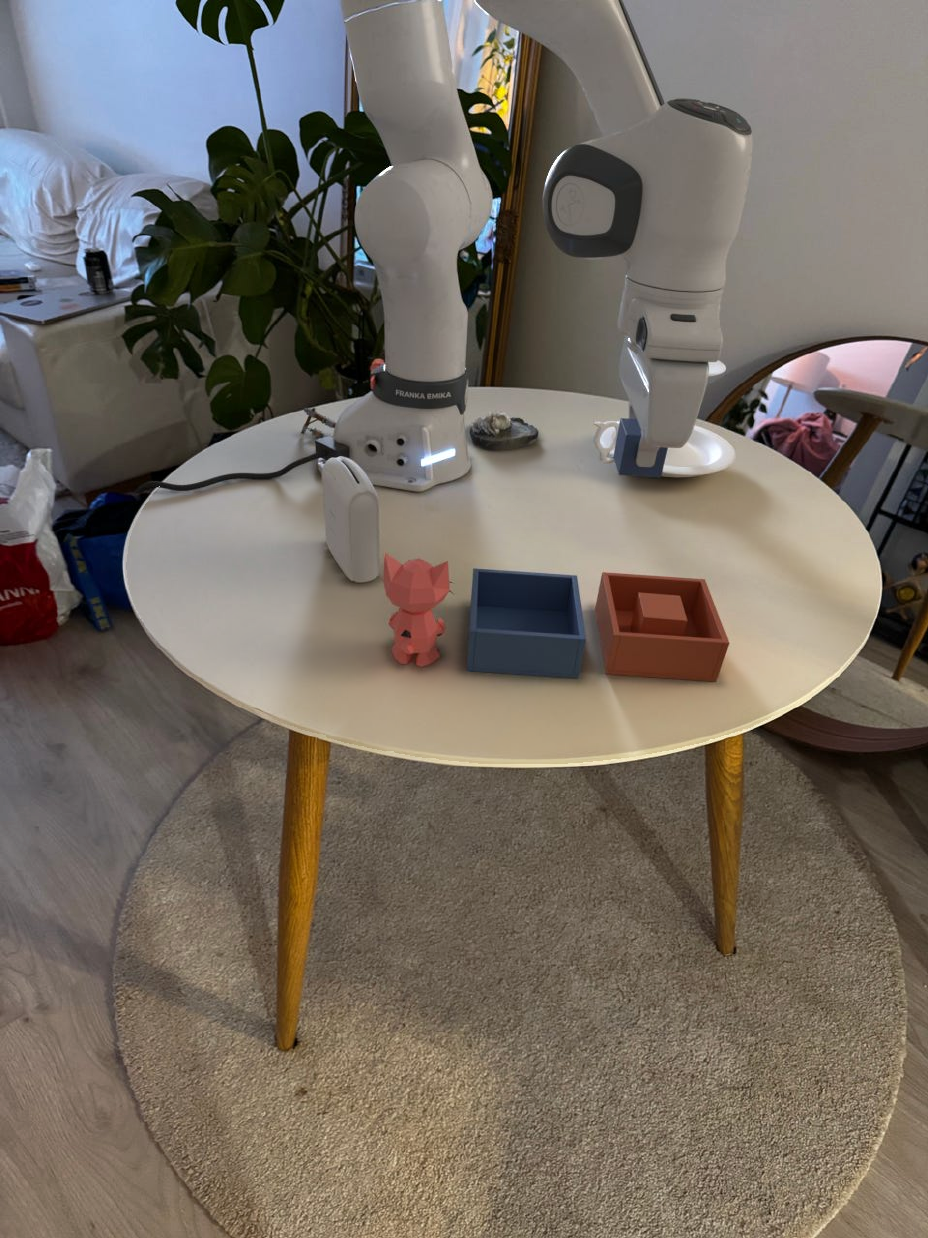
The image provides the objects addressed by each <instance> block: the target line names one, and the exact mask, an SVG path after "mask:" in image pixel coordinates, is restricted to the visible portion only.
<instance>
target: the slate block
mask: <svg viewBox="0 0 928 1238" xmlns="http://www.w3.org/2000/svg"><path fill="white" fill-rule="evenodd" d="M619 421H620V423H619V429H618V434H617V439H616V445H615V450H614V456H613V455H612V457H613V458H614V461H615V463H614V464H615V468H616V471H617V474H618V476H626V477H627V476H628V477H629V476H630V477H643V478H662V477H663V476H662V472H663V467H664V463H665V458H666V454H667V450H668V448H665V447H660V448H659V450H658V451H657V455H656V459H655V463H654V465H653V466H652V467H639V466H638V465H637V463H636V460H635V453H636V447H637V444H639V442H640V439H641V435H642V434H641V428H640V426H639V423H638V421H637V419H629V418H624V417H620V419H619Z"/></svg>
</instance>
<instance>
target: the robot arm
mask: <svg viewBox="0 0 928 1238" xmlns="http://www.w3.org/2000/svg"><path fill="white" fill-rule="evenodd" d="M474 2H475V4H476V5H477V6H478V7H479V9H481V11H483V12H484V13H485V14H486V15H488V16H489V17H491V18H492V19H494V20H495V21H497V22H499V23H501V24H503V25H504V26H507V27H509V28H511V29H513V30H515V31H518V32H520V33H521V34H523V35H525V36H527V37H529V38H531V39H532V40H534V41H537V43H539V44H541V45H542V46H543V47H545V48H547V49H548V50H549V51H551V52H552V53H553V54H555V55H556V56H557V57H558V58H559V59H561V60H562V61H563V63H565V65H566V66H567V68H569V70H570V71H571V72H572V73H573V75H574V77H575V78H576V79H577V81H578V83H579V85H580V87H581V90H582V92H583V94H584V97H585V98H586V101H587V104H588V106H589V108H590V111H591V113H592V115H593V117H594V120H595V122H596V124H597V127H598V129H599V131H600V133H601V136H602V137H598V138H595V139H591V140H587V141H584V142H581V143H578V144H575V145H572V146H570V147H568V148H566V149H565V150H564V151H563V152H561V153H560V155H559V156H557V158H556V159H555V161H554V162H553V164H552V166H551V168H550V170H549V172H548V175H547V177H546V180H545V183H544V188H543V193H542V214H543V221H544V224H545V227H546V230H547V233H548V235H549V238H550V239H551V240H552V242H553V243H554V245H555V246H556V247H557V248H558V249H559V250H560V251H561V252H562V253H564V254H566V256H570V257H572V258H579V259H583V260H599V259H606V258H611V257H613V258H619V259H621V260H623V261H624V262H625V264H626V273H625V278H624V283H623V289H622V296H621V301H620V307H619V312H618V313H619V314H618V319H617V324H616V326H617V329H618V331H619V332H621V333H622V334H623V335H624V340H623V345H622V350H621V354H620V358H619V359H620V360H619V367H618V375H619V378H620V381H621V383H622V386H623V388H624V391H625V393H626V396H627V398H628V419H637V421H638V423H639V426H640V428H641V434H642V435H641V439H640V442H639V444H637V447H636V453H635V460H636V463H637V465H638V466H639V467H652V466H653V465H654V463H655V459H656V455H657V451H658V450H659V448H660V447H665V448H681V447H683V446H684V445H685V444H686V443H687V441H688V440H689V438H690V436H691V434H692V431H693V428H694V425H695V426H696V422H697V418H698V417H699V412H700V409H701V407H702V403H703V401H704V396H705V392H706V389H707V387H708V381H709V377H710V376H709V363H708V362H717V361H718V360H720V357H721V353H722V350H723V344H724V336H723V332H722V328H721V322H720V315H721V314H720V313H721V307H722V306H721V303H722V298H723V295H724V290H725V287H726V286H725V285H726V282H727V281H726V280H727V272H726V271H727V270H726V268H727V266H726V265H727V258H728V255H729V252H730V249H731V247H732V246H733V245H732V244H733V243H734V241H735V239H736V237H737V235H738V233H739V229H740V224H741V221H742V216H743V211H744V208H745V203H746V198H747V192H748V188H749V182H750V177H751V170H752V169H751V168H752V161H753V154H754V153H753V152H754V150H753V149H754V138H753V131H752V127H751V125H750V124H749V122H748V121H747V119H746V118H744V117H743V116H742V115H741V114H740V113H739V112H737V111H735V110H732V109H730V108H728V107H725V106H722V105H719V104H716V103H713V102H709V101H708V102H707V101H702V100H701V99H693V98H683V97H682V98H675V99H670V100H668V101H666V102H665V100H664V98H663V95H662V93H661V90H660V87H659V86H658V82H657V80H656V78H655V75H654V73H653V70H652V68H651V65H650V64H649V61H648V58H647V56H646V54H645V51H644V49H643V46H642V44H641V41H640V39H639V37H638V34H637V32H636V29H635V27H634V24H633V21H632V19H631V17H630V15H629V12H628V10H627V8H626V6H625V4H624V1H623V0H474ZM339 3H340V9H341V14H342V20H343V24H344V25H343V26H344V29H345V35H346V40H347V44H348V48H349V53H350V58H351V63H352V68H353V73H354V78H355V82H356V83H355V84H356V87H357V93H358V98H359V101H360V105H361V108H362V110H363V112H364V115H366V117H367V118H368V119H369V121H370V122H371V123H372V125H373V126H374V128H375V129H376V131H377V133H378V135H379V137H380V139H381V142H382V144H383V147H384V149H385V151H386V154H387V156H388V159H389V163H390V165H391V166H389V167H387V168H386V169H383V170H382V171H381V172H379V174H378V175H376V176H375V177H374V178H373V179H372V180H371V181H370V182H369V183H368V184H367V185H366V186H364V188H363V189H362V190H361V192H360V194H359V196H358V198H357V200H356V205H355V209H354V228H355V232H356V236H357V239H358V241H359V244H360V246H361V248H362V249H363V250H364V252H365V253H366V254H367V256H368V257H369V258H370V259H371V261H372V263H373V267H374V271H375V274H376V278H377V282H378V286H379V291H380V295H381V301H382V302H381V303H382V307H383V320H384V321H383V324H384V325H383V326H384V327H383V328H384V359H382V358H376V359H374V360H373V361H372V363H371V365H370V375H369V376H370V377H369V378H370V379H369V380H370V381H369V384H370V391H369V392H368V393H366V394H365V395H363V396H362V397H360V398H358V399H357V400H356V401H355V402H353V403H352V404H350V405H349V406H347V407H346V408H344V410H343V411H342V412H341V413H340V415H339V416H338V417H337V420H336V422H335V423H336V425H335V428H333V432H332V433H333V434H332V436H324V437H319V438H318V439H315V440H314V445H315V447H314V448H315V453H313V454H310V455H307V456H304V457H301V458H299V459H296V460H295V461H293V462H291V463H289V464H287V465H286V466H285V467H283V468H281V469H279V470H277V471H272V472H262V473H261V472H231V473H226V474H221V475H218V476H214V477H210V478H208V479H205V480H201V481H197V482H194V483H188V484H175V483H168V482H165V481H158V480H151V481H146V482H143V483H142V484H140V485H139V486H138V487H137V488H136V489H135V490H134V494H137V495H138V494H142V493H143V492H144V491H146V490H148V489H151V488H159V489H164V490H169V491H176V492H189V491H194V490H198V489H203V488H205V487H209V486H211V485H214V484H217V483H221V482H226V481H230V480H231V481H232V480H239V479H240V480H241V479H243V480H244V479H245V480H270V479H276V478H280V477H282V476H284V475H286V474H288V473H289V472H291V471H292V470H293V469H295V468H297V467H299V466H303V465H304V464H307V463H309V462H313V461H316V460H317V469H318V471H319V473H320V474H321V475H322V469H323V466H324V464H325V463H326V461H327V460H329V459H330V458H337V457H339V456H342V457H346V458H348V459H350V460H352V461H353V462H355V463H356V464H357V465H358V466H359V467H360V468H361V469H362V470H363V471H364V472H365V473H366V475H367V477H368V478H369V480H370V481H371V483H372V485H373V486H374V485H375V486H380V487H386V488H392V489H398V490H404V491H411V492H418V493H421V492H425V491H427V490H429V489H431V488H432V487H434V486H436V485H440V484H444V483H449V482H452V481H454V480H455V481H456V480H457V479H459V478H461V477H463V476H464V475H466V474H467V473H468V472H469V471H470V469H471V466H472V462H471V459H470V455H469V450H468V444H467V436H466V425H465V412H466V409H467V407H468V395H469V379H468V377H469V376H468V375H469V371H468V369H467V368H466V358H467V342H468V341H467V340H468V324H469V323H468V322H469V313H468V308H467V306H466V304H465V302H464V301H463V297H462V293H461V287H460V281H459V280H460V279H459V274H458V254H459V251H461V250H462V249H465V248H467V247H469V246H470V245H471V244H473V243H474V242H475V241H476V240H477V239H478V237H479V236H481V233H482V232H483V230H484V229H485V228H486V225H487V224H488V222H489V219H490V217H491V215H492V211H493V203H494V202H493V191H492V188H491V184H490V181H489V179H488V177H487V175H486V174H485V173H484V171H483V170H482V167H481V166H480V163H479V159H478V156H477V153H476V149H475V146H474V143H473V140H472V139H473V138H472V136H471V132H470V130H469V127H468V123H467V120H466V117H465V114H464V110H463V107H462V104H461V100H460V97H459V92H458V88H457V83H456V78H455V73H454V67H453V59H452V52H451V46H450V40H449V34H448V28H447V21H446V20H447V19H446V15H445V8H444V2H443V0H339ZM159 486H160V487H159Z"/></svg>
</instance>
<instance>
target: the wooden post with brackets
mask: <svg viewBox="0 0 928 1238" xmlns="http://www.w3.org/2000/svg"><path fill="white" fill-rule="evenodd" d="M303 412H304V413H305V415H307V419H306V421H305V423H304V425H303V426H302V428H301V431H300V434H302V435H305V433H306V432H307V430H308V431H309V433H311V434H312V436H316V437H317V438H323V437H325V433H323V430H319V429H317V427H315V428H314V429H313V427H309V426H310V424H313V423H315V422H321V424H324V426H327V427H329V428H330V429H334V428H335V425H336V422H335V420H333V419H331V418H330V417H327V416H326V415H322V414H320V413H318V411H317V408H316V407H312V408H311V407H309V408H308V407H304V408H303ZM311 419H313V420H311Z"/></svg>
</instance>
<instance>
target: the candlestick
mask: <svg viewBox="0 0 928 1238" xmlns="http://www.w3.org/2000/svg"><path fill="white" fill-rule="evenodd" d="M708 363H709V376H708V377H714V376H719V375H721V374H724V373H725V372H726V370H727V366H726V365H725V364H724V362H722V361H721V360H720V359H718V361H717V362H708ZM619 423H620V420H617V421H614V420H608V421H605V422H602V421H599V420H598V421H594V422H593V425H594V426H596V427H597V429H596V430H595V433H594V436H593V445H594V447H595V449H596V450H597V452H599V460H600V461H601V462H602V463H604V464H615V461H614V458H613V456H614V450H615V445H616V439H617V434H618V429H619ZM608 454H610V455H612V457H608ZM736 457H737V455H736V450H735V449H734V447H733V446H732V445H731V443H729V442H728V441H727V440H726V439H725V438H724V437H722V436H720V435H719V434H717V433H715V432H713V431H711V430H708V429H707V428H704V427H701V426H699V425H696V424H695V425H694V428H693V431H692V434H691V436H690V438H689V440H688V441H687V443H686V444H685V445H684V446H683V447H681V448H668V450H667V454H666V458H665V463H664V467H663V472H662V476H661V477H664V478H665V477H666V478H691V477H693V478H694V477H699V476H703V475H707V474H714V473H718V472H721V471H723V470H725V469H728V468H729V467H730V466H732V465H733V464H734V462H735V460H736Z"/></svg>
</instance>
